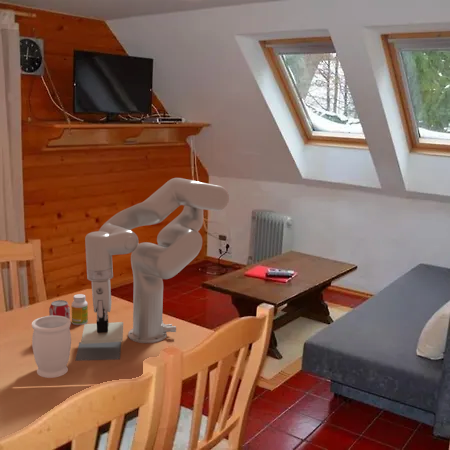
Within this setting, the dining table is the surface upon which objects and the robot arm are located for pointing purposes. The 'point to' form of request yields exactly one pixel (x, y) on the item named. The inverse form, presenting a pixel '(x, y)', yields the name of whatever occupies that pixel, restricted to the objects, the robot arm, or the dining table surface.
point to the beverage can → (60, 309)
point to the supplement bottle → (79, 310)
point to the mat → (99, 351)
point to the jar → (51, 345)
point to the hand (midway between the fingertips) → (102, 329)
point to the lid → (111, 336)
